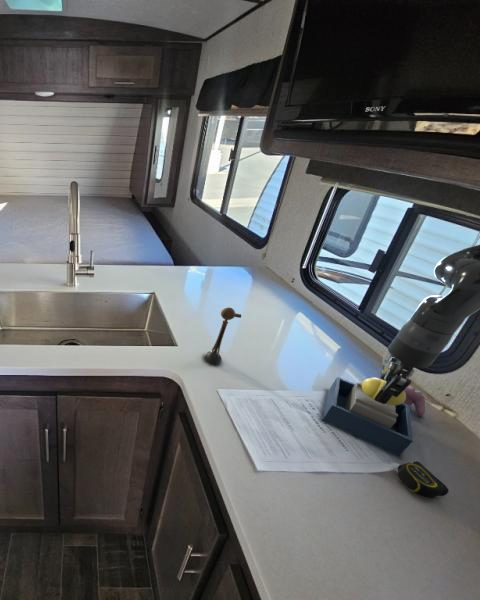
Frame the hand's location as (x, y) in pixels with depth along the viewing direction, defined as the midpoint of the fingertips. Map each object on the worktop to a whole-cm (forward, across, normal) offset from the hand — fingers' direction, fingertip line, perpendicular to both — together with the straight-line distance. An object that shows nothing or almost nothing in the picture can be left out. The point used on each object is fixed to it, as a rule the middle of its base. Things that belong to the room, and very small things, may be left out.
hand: (379, 394), depth 80 cm
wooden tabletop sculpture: (+10, -3, +38) cm, 39 cm away
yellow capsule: (+1, 0, 0) cm, 1 cm away
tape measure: (+10, -13, -10) cm, 19 cm away
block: (+10, 0, 0) cm, 10 cm away
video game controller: (+10, +14, -8) cm, 19 cm away
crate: (+10, 0, 0) cm, 10 cm away
